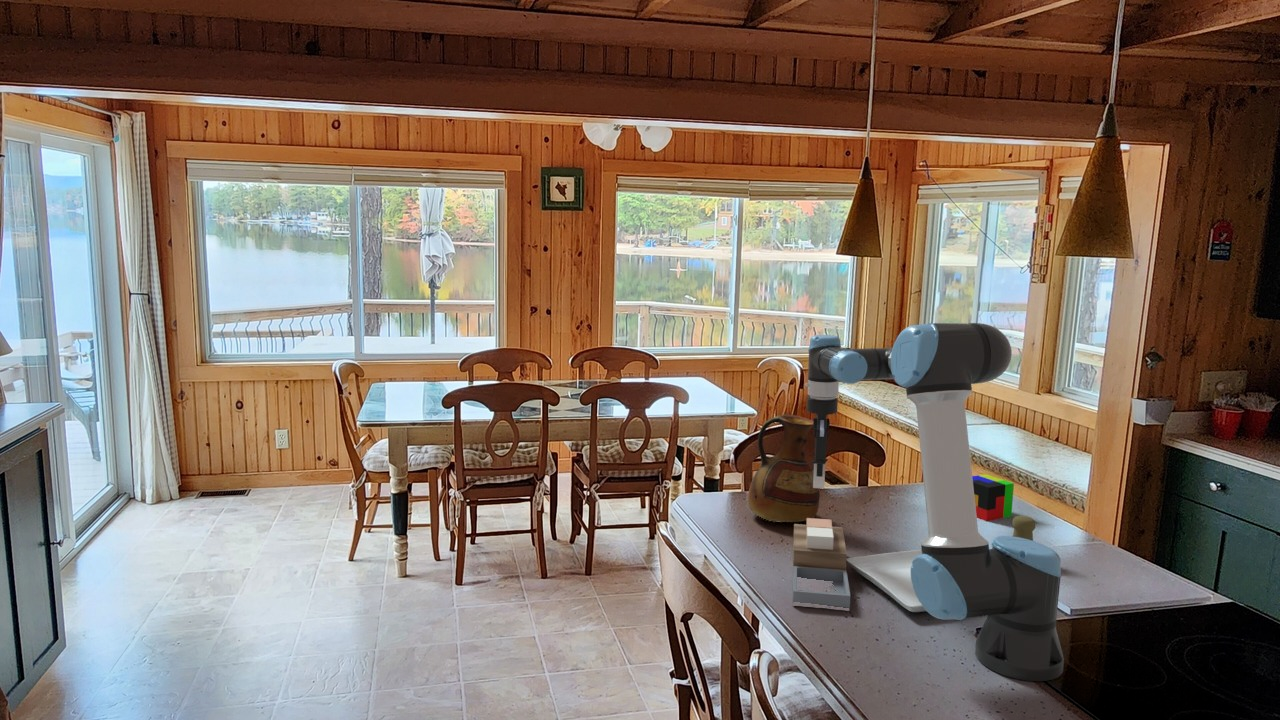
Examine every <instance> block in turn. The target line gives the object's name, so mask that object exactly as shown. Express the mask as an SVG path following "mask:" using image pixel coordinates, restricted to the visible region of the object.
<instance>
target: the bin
mask: <svg viewBox="0 0 1280 720" xmlns="http://www.w3.org/2000/svg"><path fill="white" fill-rule="evenodd" d="M797 577H801V578H807V579H816V580H824V581H833V583H832V584H833V585H834V586H833V585H832V586H833V587H832V586H831V588H833V591H834V592H835V593H827V592H815V591H803V590H797ZM829 587H830V586H829ZM835 588H836V589H835ZM834 589H835V590H836V591H835V590H834ZM831 590H832V589H831ZM837 590H838V591H837ZM850 590H851V589H850V585H849V579H848V572H847V569H846V570H839V569H826V568H813V567H800V566H793V565H792V603H793V602H800V603H811V604H819V605H827V606H834V607H843V608H850V609H851V592H850ZM831 592H832V591H831Z"/></svg>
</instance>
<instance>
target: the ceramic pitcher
mask: <svg viewBox="0 0 1280 720" xmlns="http://www.w3.org/2000/svg"><path fill="white" fill-rule="evenodd" d="M773 423H779V424H781V426H782V428H783V433H784V434H783V441H782V445H781V448H780V449H779V451H778V453H776V454H775V455H773V456H767V455H766V452H765V448H764V444H763V443H764V435H765V433H766V430H767V429H768V427H769V426H770V425H771V424H773ZM812 428H814V424H813V419H812V420H811V419H809V418H807V417H803V416H799V415H795V414H788V413H787V414H786V413H785V414H779V415H776V416H773V417H772V418H769V419H767V420H766V421H765V422H764V423H763V424H762V426H761V428H760V431H759V432H758V436H757V437H758V438H757V441H758V442H757V447H758V451H759V454H760V455H759V456H760V461H761V463H760V464H761V465H760V467H759V468H758V469H757V471H756V472H755V474H754V476H753V477H752V480H751V482H750V484H749V485H750V486H749V489H748V494H747V505H748V507H749V509H750V511H751V512H752V513H753V514H755V516H757V517H758V516H759V518H760V517H761V518H760V519H762V518H763V519H762V520H764V519H766V520H765V521H767V520H771V521H780V523H782V522H787V523H788V522H790V523H799V522H806V521H807V518H814V519H815V517H816V516H817V514H818V511H819V506H820V499H821V498H820V497H821V494H820V493H821V492H820V488H813V479H814V468H813V467H812V465H811V464H809V462H808V461H807V460H806V454H805V447H806V445H807V441H808V439H807V438H808V434H809V432H810V431H811V429H812Z"/></svg>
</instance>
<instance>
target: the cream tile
mask: <svg viewBox="0 0 1280 720" xmlns="http://www.w3.org/2000/svg"><path fill="white" fill-rule="evenodd" d="M833 538H834V537H833V530H832V529H830V528H815V527H807V548H815V549H829V550H833Z"/></svg>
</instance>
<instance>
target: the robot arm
mask: <svg viewBox="0 0 1280 720" xmlns="http://www.w3.org/2000/svg"><path fill="white" fill-rule="evenodd" d="M808 346H809V347H808V371H807V372H808V373H807V375H808V376H807V382H806V383H805V384H804V385H805V387H807V395H808V397H807V398H806V411H807V412H808V413H810V414H813V415H814V414H816V417H813V419H812V421H813V424H814V427H813V436H814V453H813V456H814V460H811V464H812V465H813V471H814V479H813V488H819V489H825V477H826V462H827V463H828V460H829V459H828V458H827V457H826V456H827V455H826V454H827V439H828V438H829V428H830V427H831V425H830V424H831V423H830V422H831V420H830V418H827V416H828V415H834V414H835V415H836V414H837V412H838V404H839V402H838V401H839V400H838V398H837V397H838V396H839V386H840V385H839V383H840V382H841V383H842V384H849V385H851V384H852V385H853V384H856V383H858V382H861V381H874V380H894V382H895V383H896V384H898V385H899V386H901V387H902V388H905V391H906V392H905V393H906V398H907V399H908V400H909V401H910V402H912V404H914V405H915V407H916V408H915V411H916V418H917V428H918V438H919V448H920V459H921V468H922V479H923V480H922V481H923V490H924V498H925V499H924V500H925V509H926V519H927V521H926V522H927V530H928V533H927V536H925V537H924V539H923V540H922V541H921V542H920V545H921V547H920V548H921V550H922V554H920V555H918V556H917V557H915V558H914V559H913V561H912V564H913V565H911V581H912V585H913V588H914V591H915V594H916V596H917V598H918V600H919V602H920V603H921V604H922V606H923V607H924V609H925V610H926V611H925V612H927V613H928V614H929V615H931V616H932V617H933V618H936V619H937V620H938V619H939V620H957V621H962V620H964V619H968V618H969V619H970V618H980V617H986V619H985V620H984V622H983V624H982V627H981V629H980V631H979V633H978V635H977V637H976V639H975V646H974V647H975V649H974V653H975V656H976V659H978V661H979V662H980V663H981V664H983V666H984V667H987V668H988V669H989V670H991V671H993V672H995V673H998V674H999V675H1002V676H1005V677H1008V678H1013V679H1016V680H1021V681H1028V682H1029V681H1030V682H1045V681H1052V680H1055V679H1058V678H1059V677H1060V676H1062V675H1063V672H1064V664H1065V657H1064V653H1063V650H1062V647H1061V642H1060V638H1059V635H1058V631H1057V618H1058V606H1059V598H1060V597H1059V596H1060V595H1059V594H1060V585H1061V578H1062V572H1061V564H1062V563H1061V558H1060V555H1059V554H1058V552H1057V551H1055V550H1054V549H1053V548H1051V547H1050V546H1048V545H1045V544H1043V543H1040V542H1037V541H1035V540H1033V541H1032V540H1028V539H1024V538H1019V537H1013V535H998V536H995V537H994V539H992V542H991V546H992V547H991V548H990V546H989V541H988V540H987V539H986V538H984V537H983V536H982V535H981V534H980V533H979V526H978V518H977V516H976V506H975V497H974V488H973V478H972V476H973V470H972V462H971V452H970V442H969V432H968V423H967V415H966V406H965V402H966V400H967V399H968V398H969V397H970V396H971V394H972V393H973V388H972V385H974V384H975V385H976V384H977V385H978V384H983V383H988V382H991V381H994V380H996V379H997V378H999V377H1000V376H1002V375H1003V374H1004V373H1005V372H1006V371H1007V369H1008V367H1009V366H1010V363H1011V362H1012V355H1013V354H1012V346H1011V344H1010V341H1009V339H1008V337H1007V336H1006V334H1004V333H1003V332H1002V331H1000V329H998V328H996V327H995V326H992V325H990V324H987V323H986V324H985V323H980V322H970V323H959V322H958V323H953V322H952V323H951V322H949V323H944V322H943V323H940V322H939V323H934V322H933V323H931V322H930V323H921V324H920V323H919V324H913V325H910V326H907V327H906V328H904V329H903V330H902V331H901V332H900V333H899V335H898V336H897V337H896V340H895V342H894V343H893V346H892V347H878V348H875V347H874V348H843V347H842V345H841V338H840V337H839V336H838V335H831V334H815V335H812V336H811V337H810V339H809V345H808Z"/></svg>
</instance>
